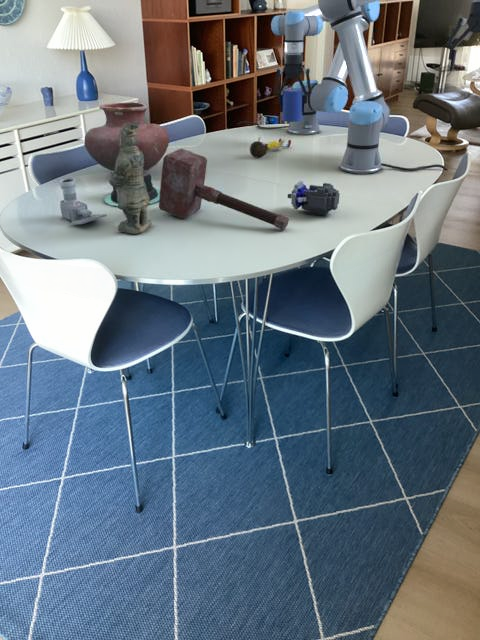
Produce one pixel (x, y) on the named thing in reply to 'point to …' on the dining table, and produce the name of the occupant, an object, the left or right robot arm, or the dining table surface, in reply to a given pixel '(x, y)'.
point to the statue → (131, 182)
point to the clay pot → (105, 138)
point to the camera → (74, 204)
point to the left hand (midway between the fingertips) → (292, 111)
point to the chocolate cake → (152, 192)
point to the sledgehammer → (200, 190)
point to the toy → (315, 198)
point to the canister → (292, 104)
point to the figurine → (266, 147)
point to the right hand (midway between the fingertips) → (471, 71)
